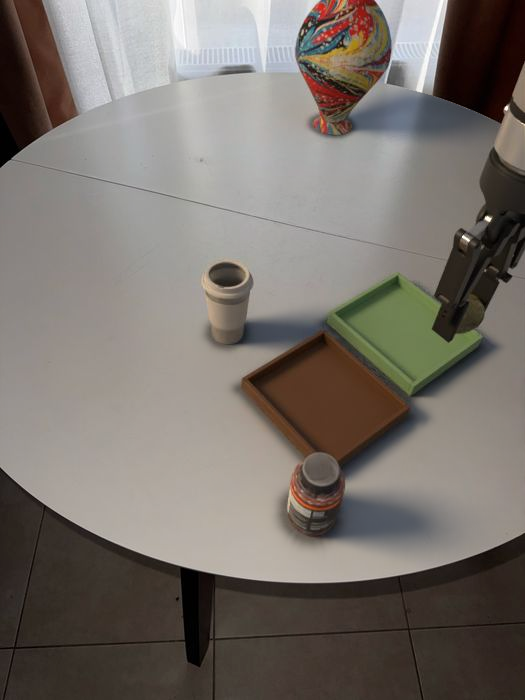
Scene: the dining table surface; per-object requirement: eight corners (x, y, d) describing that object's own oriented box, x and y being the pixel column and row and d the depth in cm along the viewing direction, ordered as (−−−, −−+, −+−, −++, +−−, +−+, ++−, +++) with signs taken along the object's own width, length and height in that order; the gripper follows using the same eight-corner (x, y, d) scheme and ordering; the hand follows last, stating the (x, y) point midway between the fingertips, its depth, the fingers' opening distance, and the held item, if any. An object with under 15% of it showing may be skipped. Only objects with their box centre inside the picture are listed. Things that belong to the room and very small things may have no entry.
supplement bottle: (317, 482, 72) (329, 434, 63) (345, 522, 69) (362, 477, 60) (276, 504, 70) (282, 458, 61) (303, 547, 67) (314, 504, 58)
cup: (197, 343, 85) (193, 284, 76) (212, 312, 89) (210, 252, 80) (244, 354, 84) (245, 296, 75) (256, 322, 88) (259, 263, 79)
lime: (482, 328, 72) (496, 300, 68) (456, 345, 70) (469, 317, 66) (454, 306, 74) (467, 278, 70) (429, 323, 72) (440, 294, 68)
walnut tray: (407, 416, 79) (411, 406, 77) (324, 478, 72) (327, 469, 70) (322, 339, 87) (324, 328, 85) (241, 388, 80) (241, 378, 79)
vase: (284, 143, 121) (296, -19, 98) (293, 99, 133) (306, -54, 110) (375, 153, 120) (409, -9, 97) (376, 108, 132) (406, -45, 109)
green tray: (478, 346, 87) (483, 336, 85) (410, 396, 81) (414, 386, 79) (394, 282, 95) (397, 271, 94) (326, 322, 89) (328, 312, 87)
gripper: (553, 111, 59) (477, 277, 77) (438, 170, 52) (384, 338, 70) (620, 145, 56) (524, 311, 74) (507, 213, 48) (431, 379, 66)
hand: (456, 324), depth 72 cm, fingers closed on lime, 5 cm apart
